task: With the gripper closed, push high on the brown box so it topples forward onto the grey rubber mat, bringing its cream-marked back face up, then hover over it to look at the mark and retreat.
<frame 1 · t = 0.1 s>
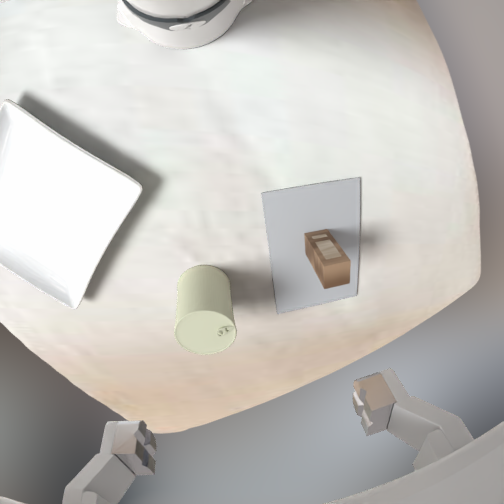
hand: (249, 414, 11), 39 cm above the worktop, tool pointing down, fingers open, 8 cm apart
grey mat: (316, 250, 54), on the worktop
brown box: (316, 241, 53), resting on grey mat
can: (203, 286, 55), on the worktop
square plate: (43, 205, 44), on the worktop
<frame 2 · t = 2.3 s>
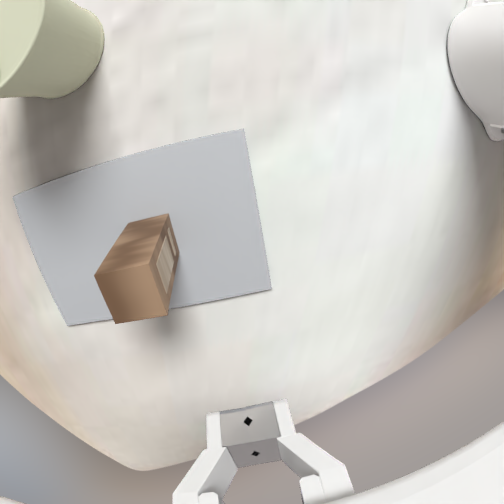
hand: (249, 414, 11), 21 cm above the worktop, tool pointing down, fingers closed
grey mat: (135, 240, 29), on the worktop
brown box: (153, 237, 29), resting on grey mat
can: (60, 52, 21), on the worktop
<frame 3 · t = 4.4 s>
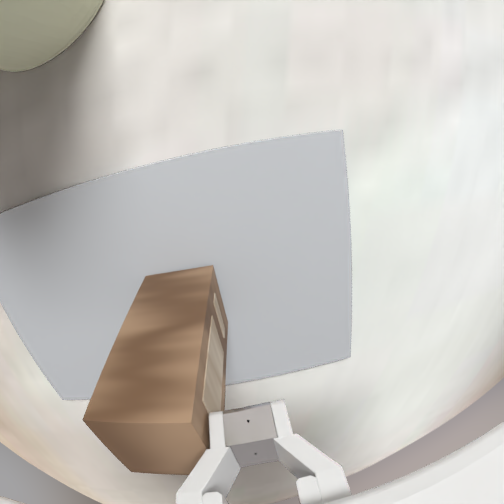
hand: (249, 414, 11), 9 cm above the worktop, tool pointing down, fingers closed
grey mat: (157, 300, 19), on the worktop
brown box: (187, 300, 18), point 1 cm above the worktop, touching grey mat, gripper
can: (40, 0, 10), on the worktop
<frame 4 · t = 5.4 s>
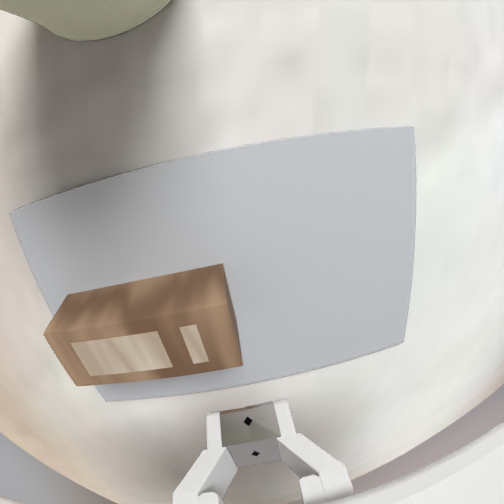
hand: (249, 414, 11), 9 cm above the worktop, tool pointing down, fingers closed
grey mat: (230, 289, 19), on the worktop
brown box: (232, 313, 17), point 2 cm above the worktop, tilted 90°, touching grey mat
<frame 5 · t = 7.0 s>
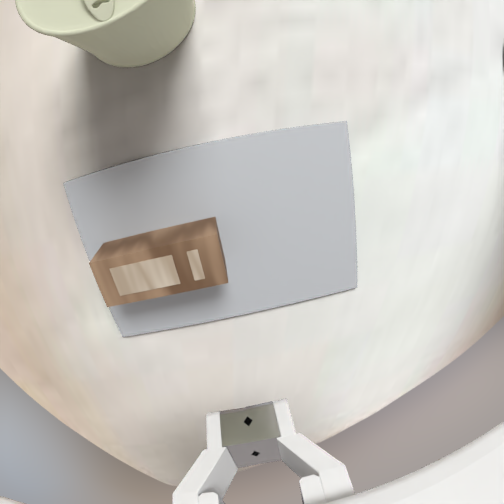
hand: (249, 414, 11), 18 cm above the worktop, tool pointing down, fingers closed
grey mat: (220, 237, 27), on the worktop
brown box: (221, 248, 25), point 2 cm above the worktop, tilted 90°, touching grey mat
can: (138, 16, 19), on the worktop
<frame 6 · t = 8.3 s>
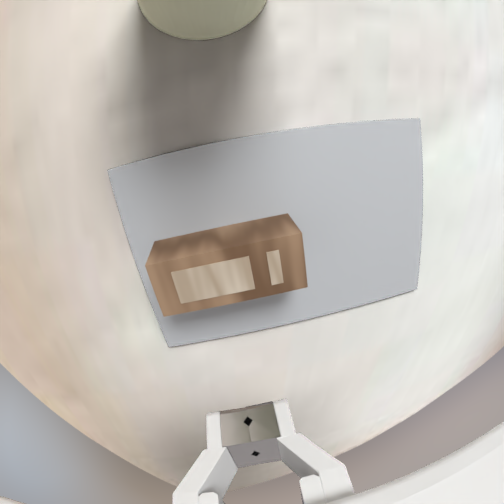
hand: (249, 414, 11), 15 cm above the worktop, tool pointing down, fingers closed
grey mat: (290, 236, 25), on the worktop
brown box: (297, 248, 22), point 2 cm above the worktop, tilted 90°, touching grey mat
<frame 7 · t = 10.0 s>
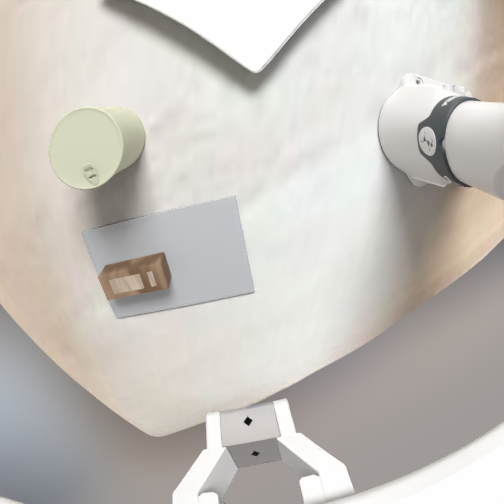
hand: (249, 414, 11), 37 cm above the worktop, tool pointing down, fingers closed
grey mat: (168, 262, 48), on the worktop
brown box: (166, 269, 46), point 2 cm above the worktop, tilted 90°, touching grey mat
can: (114, 138, 40), on the worktop
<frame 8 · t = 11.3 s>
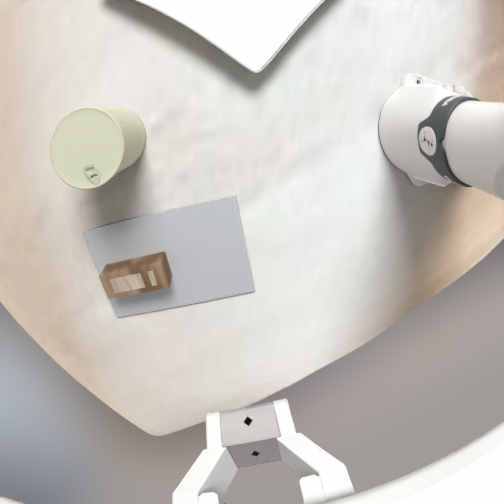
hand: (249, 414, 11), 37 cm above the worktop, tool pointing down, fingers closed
grey mat: (169, 261, 48), on the worktop
brown box: (167, 269, 46), point 2 cm above the worktop, tilted 90°, touching grey mat
can: (115, 138, 40), on the worktop
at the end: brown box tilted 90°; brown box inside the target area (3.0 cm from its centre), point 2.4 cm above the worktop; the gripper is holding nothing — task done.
